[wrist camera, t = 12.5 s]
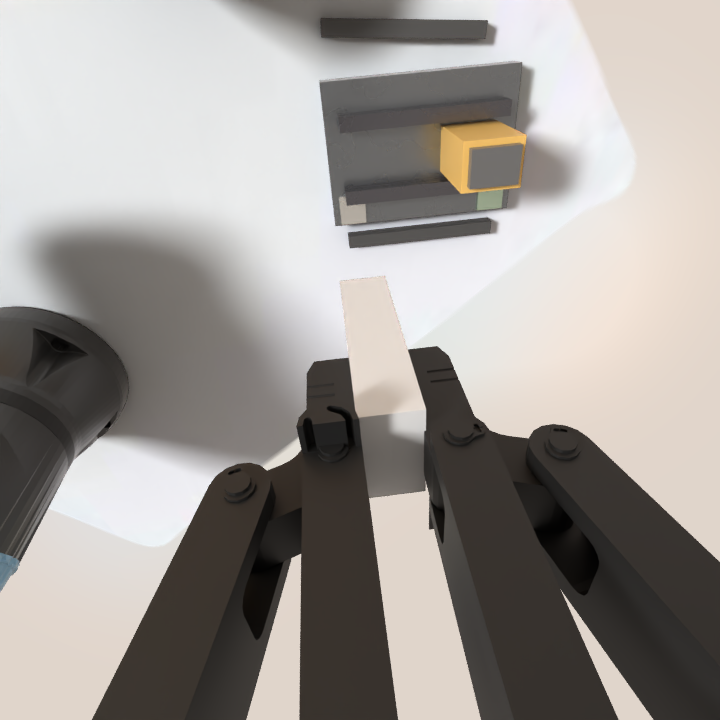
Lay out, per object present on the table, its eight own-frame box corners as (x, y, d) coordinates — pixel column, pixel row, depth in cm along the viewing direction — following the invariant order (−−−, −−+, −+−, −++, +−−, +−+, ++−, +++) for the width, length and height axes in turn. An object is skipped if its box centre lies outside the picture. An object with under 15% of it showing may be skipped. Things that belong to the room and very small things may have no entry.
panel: (334, 220, 38) (336, 232, 36) (319, 80, 32) (320, 84, 30) (500, 202, 39) (513, 213, 36) (514, 60, 33) (530, 63, 30)
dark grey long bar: (349, 243, 40) (350, 248, 39) (348, 232, 39) (348, 236, 38) (486, 228, 40) (490, 232, 39) (487, 217, 39) (491, 221, 39)
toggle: (440, 171, 35) (463, 196, 30) (441, 125, 34) (466, 143, 28) (491, 165, 36) (523, 190, 30) (495, 119, 34) (530, 136, 28)
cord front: (321, 36, 31) (321, 37, 30) (320, 18, 30) (321, 18, 30) (480, 38, 32) (485, 38, 31) (483, 20, 31) (487, 20, 31)
